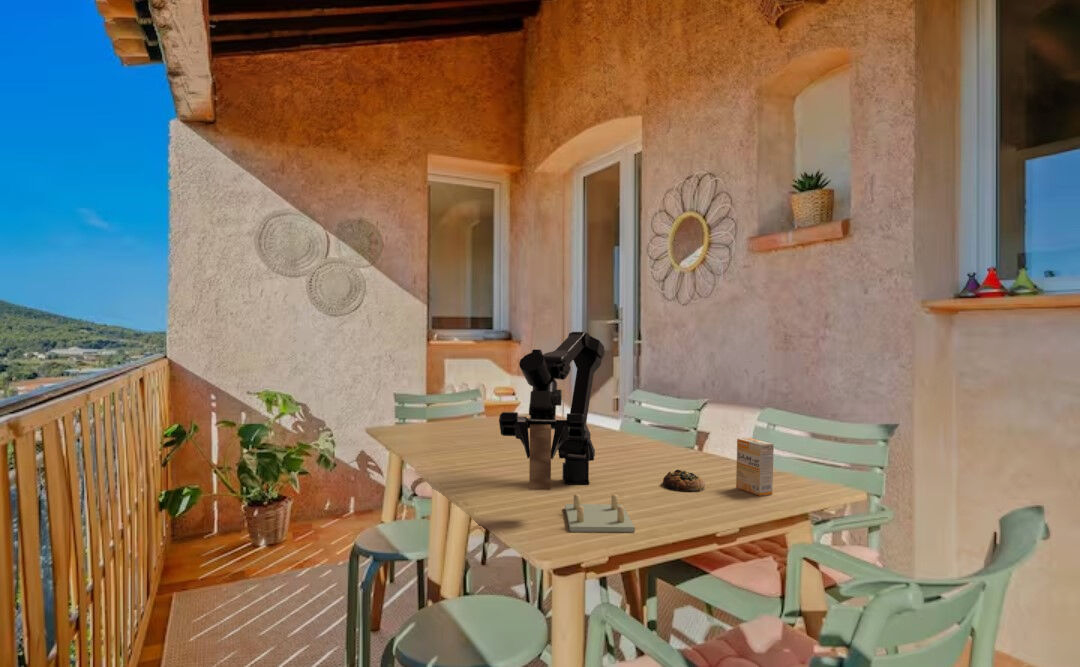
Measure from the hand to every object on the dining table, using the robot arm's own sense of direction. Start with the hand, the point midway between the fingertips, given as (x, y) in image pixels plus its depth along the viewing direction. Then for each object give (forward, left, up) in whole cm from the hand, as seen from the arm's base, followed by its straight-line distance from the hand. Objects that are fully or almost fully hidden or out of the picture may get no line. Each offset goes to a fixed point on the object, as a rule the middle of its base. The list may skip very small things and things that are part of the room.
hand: (539, 457), depth 119 cm
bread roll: (-39, -29, -14) cm, 50 cm away
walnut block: (0, -1, -7) cm, 7 cm away
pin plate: (-13, -1, -13) cm, 19 cm away
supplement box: (-56, -24, -14) cm, 62 cm away
